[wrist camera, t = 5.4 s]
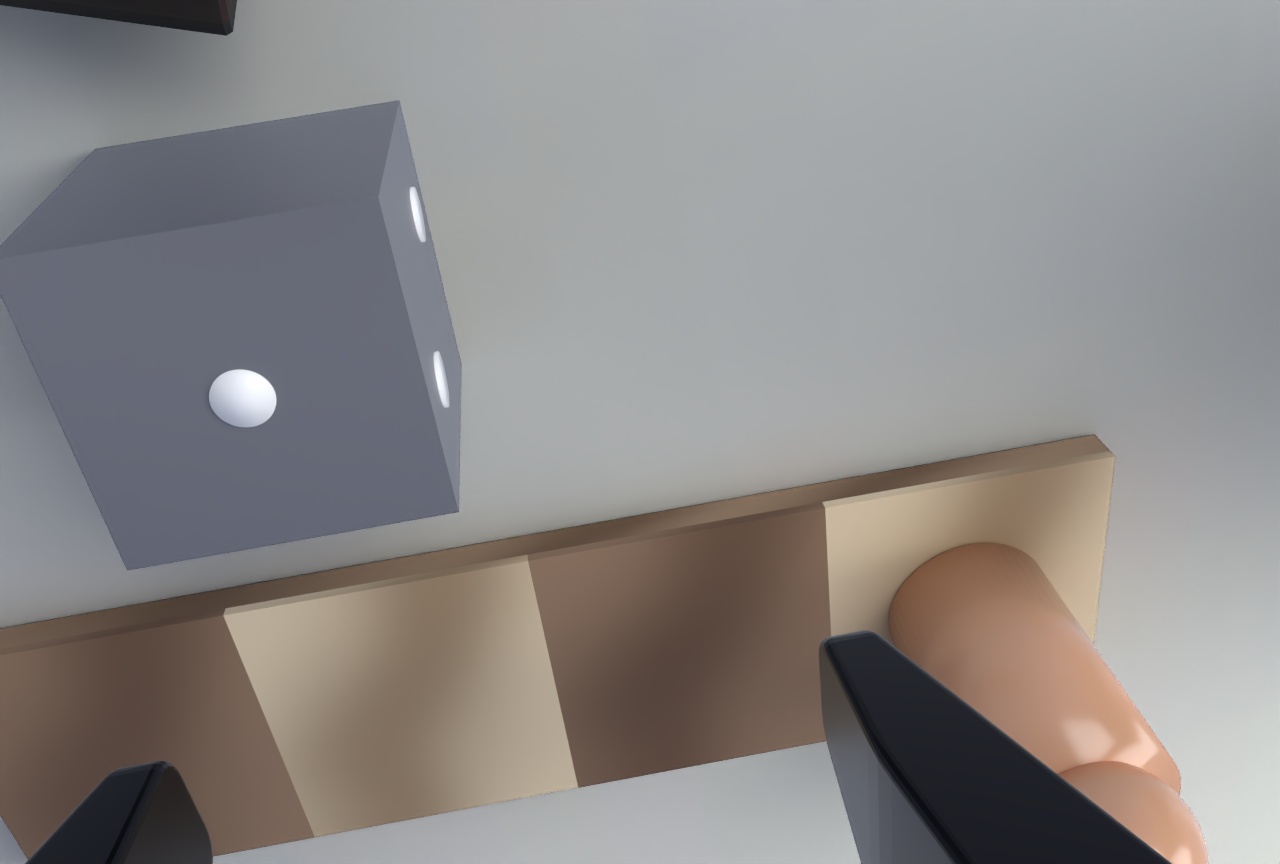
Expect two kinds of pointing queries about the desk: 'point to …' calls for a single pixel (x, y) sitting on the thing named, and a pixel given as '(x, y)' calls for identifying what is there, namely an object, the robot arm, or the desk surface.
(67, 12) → the handgun
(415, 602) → the track
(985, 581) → the tan rounded peg
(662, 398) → the desk surface
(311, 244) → the die
